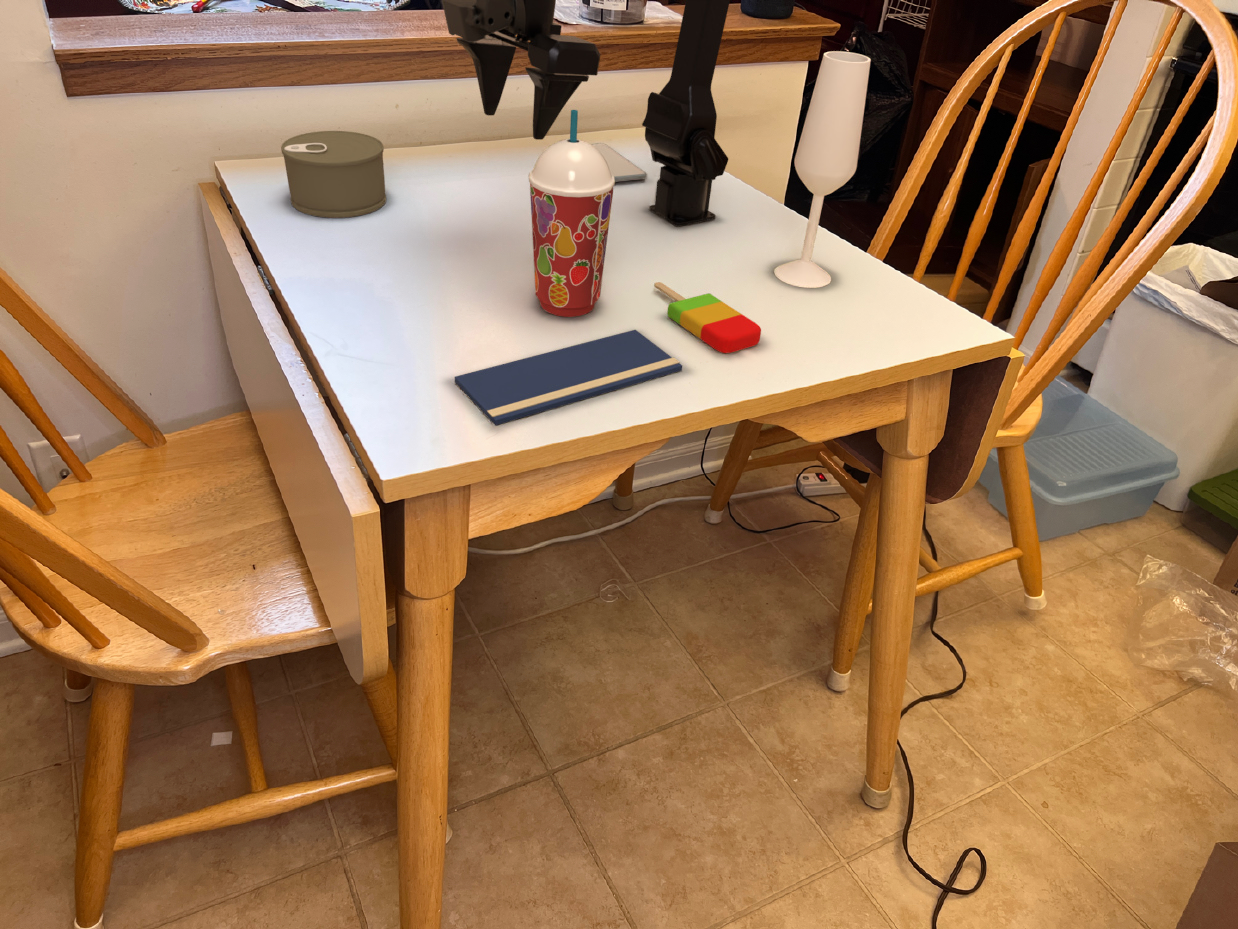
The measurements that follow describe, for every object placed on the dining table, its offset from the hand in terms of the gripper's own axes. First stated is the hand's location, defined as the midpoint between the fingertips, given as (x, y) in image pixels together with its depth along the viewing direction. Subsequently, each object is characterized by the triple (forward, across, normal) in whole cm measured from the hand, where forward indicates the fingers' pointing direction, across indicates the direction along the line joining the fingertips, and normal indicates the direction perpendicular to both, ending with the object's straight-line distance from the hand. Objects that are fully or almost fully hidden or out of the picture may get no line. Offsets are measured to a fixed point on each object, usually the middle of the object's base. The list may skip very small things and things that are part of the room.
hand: (513, 126), depth 96 cm
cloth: (+16, +25, -8) cm, 30 cm away
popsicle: (+14, +23, +10) cm, 28 cm away
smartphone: (+11, -20, +30) cm, 38 cm away
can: (+16, -26, -7) cm, 31 cm away
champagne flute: (+11, +21, +28) cm, 37 cm away
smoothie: (+15, +13, 0) cm, 20 cm away
